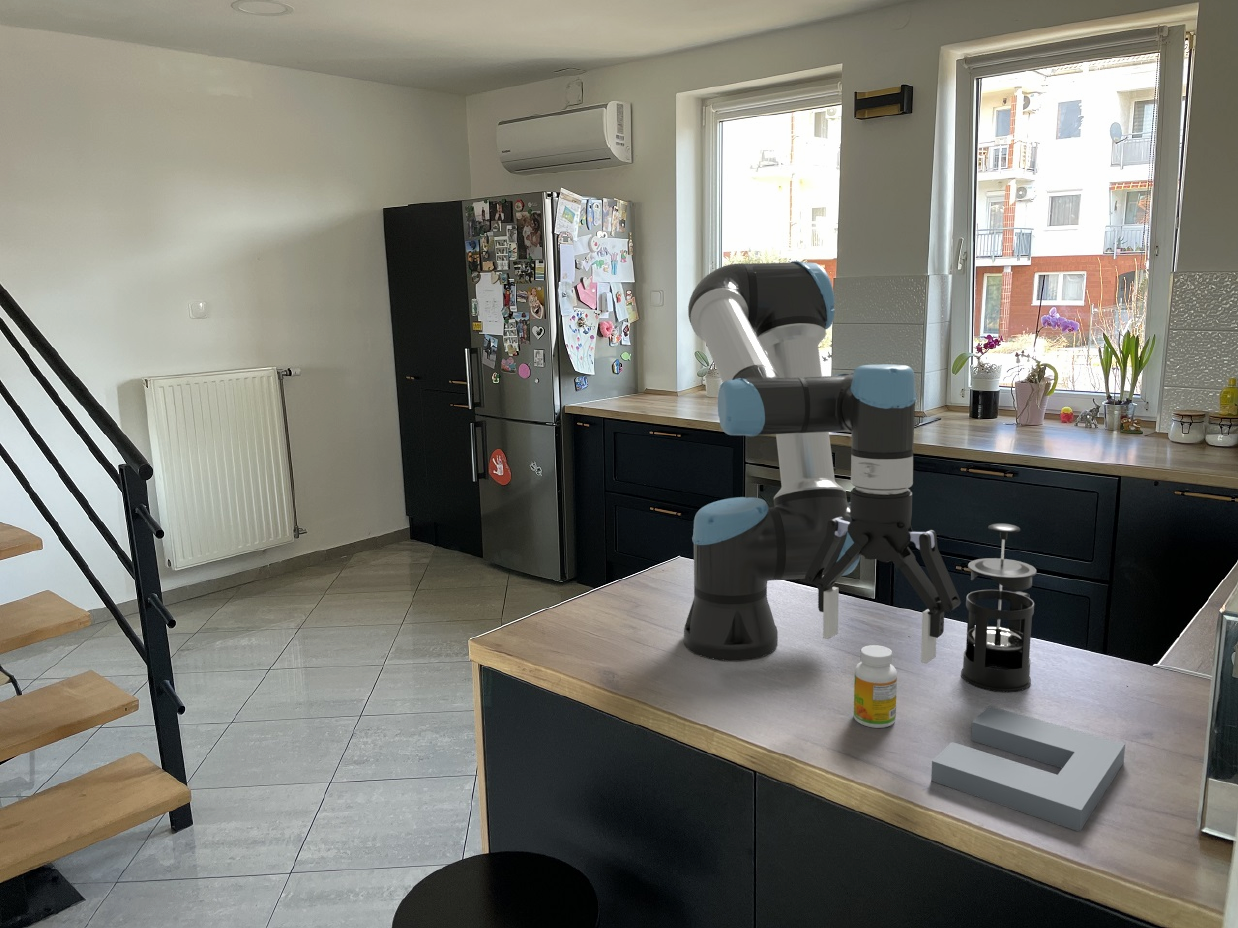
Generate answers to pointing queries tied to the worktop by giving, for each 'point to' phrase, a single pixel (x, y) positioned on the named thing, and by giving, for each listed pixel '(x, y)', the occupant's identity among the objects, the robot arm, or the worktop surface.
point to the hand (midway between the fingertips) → (877, 647)
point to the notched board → (1026, 787)
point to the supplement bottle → (875, 688)
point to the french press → (998, 642)
